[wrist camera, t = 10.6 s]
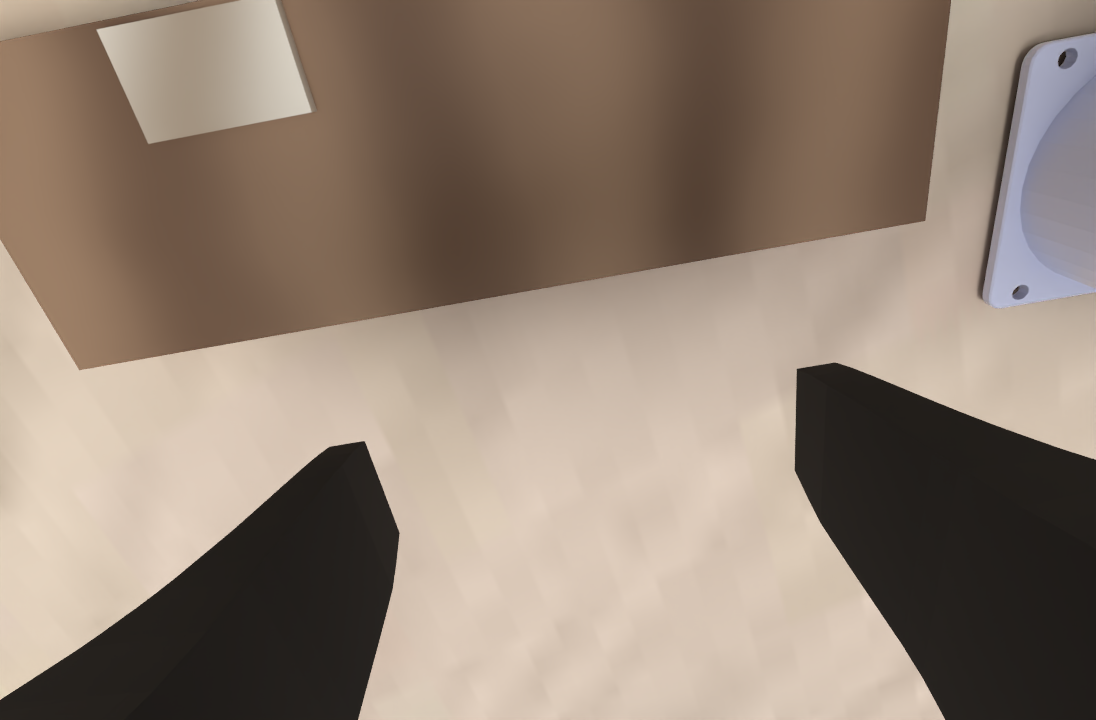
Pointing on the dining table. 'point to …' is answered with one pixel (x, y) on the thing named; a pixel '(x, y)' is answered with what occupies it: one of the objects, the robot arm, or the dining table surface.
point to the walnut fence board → (440, 152)
